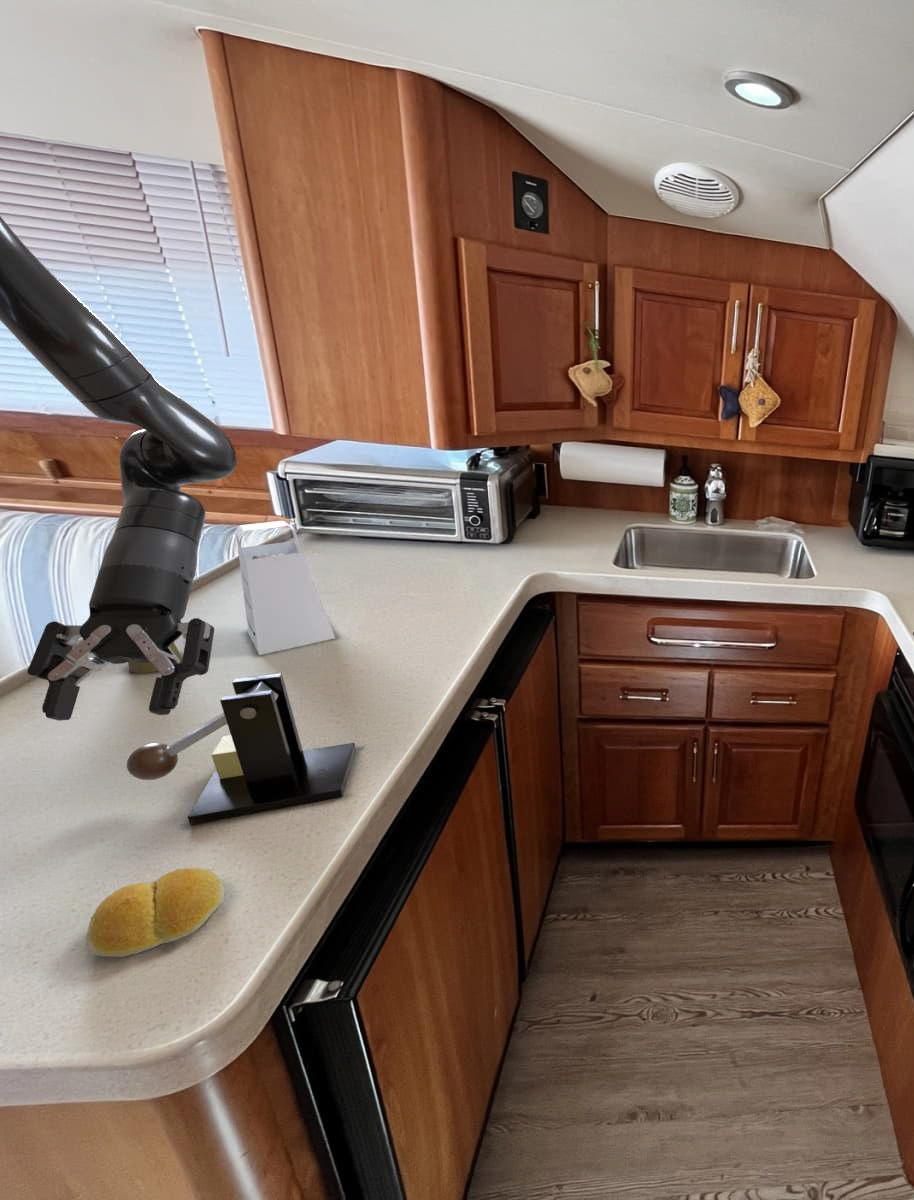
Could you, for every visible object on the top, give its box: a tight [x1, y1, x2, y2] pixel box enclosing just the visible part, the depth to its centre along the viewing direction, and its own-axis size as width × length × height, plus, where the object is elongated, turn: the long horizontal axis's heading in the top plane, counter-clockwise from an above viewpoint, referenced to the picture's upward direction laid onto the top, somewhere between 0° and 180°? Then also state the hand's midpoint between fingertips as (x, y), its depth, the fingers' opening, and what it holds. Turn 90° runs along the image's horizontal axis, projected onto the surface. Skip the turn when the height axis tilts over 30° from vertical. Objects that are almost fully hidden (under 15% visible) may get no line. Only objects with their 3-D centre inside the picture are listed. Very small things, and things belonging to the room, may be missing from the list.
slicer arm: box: [126, 682, 279, 781], centre depth 71 cm, size 15×4×4 cm
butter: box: [211, 734, 243, 779], centre depth 77 cm, size 4×4×4 cm
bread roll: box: [85, 867, 225, 958], centre depth 59 cm, size 8×9×4 cm
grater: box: [234, 520, 336, 656], centre depth 107 cm, size 10×10×20 cm
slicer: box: [187, 673, 357, 826], centre depth 74 cm, size 14×10×14 cm
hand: (109, 716), depth 66 cm, fingers open, 8 cm apart
